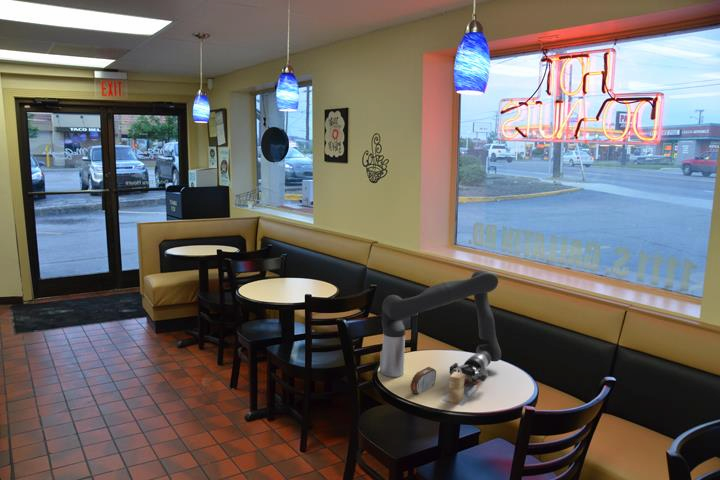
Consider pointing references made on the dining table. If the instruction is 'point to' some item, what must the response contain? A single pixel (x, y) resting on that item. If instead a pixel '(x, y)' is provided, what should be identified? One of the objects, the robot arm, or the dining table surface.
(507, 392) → the dining table surface
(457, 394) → the oak block
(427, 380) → the tin
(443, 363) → the dining table surface
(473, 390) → the long grey tray
